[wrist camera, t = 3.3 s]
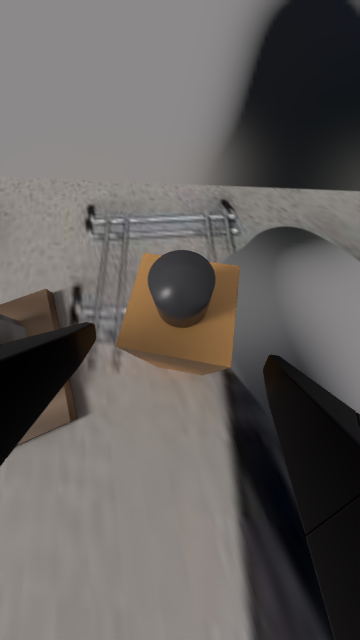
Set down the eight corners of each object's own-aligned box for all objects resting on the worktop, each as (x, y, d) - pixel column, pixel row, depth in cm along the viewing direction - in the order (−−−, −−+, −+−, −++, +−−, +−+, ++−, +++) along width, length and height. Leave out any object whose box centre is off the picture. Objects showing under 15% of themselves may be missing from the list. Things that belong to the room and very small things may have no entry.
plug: (202, 375, 17) (249, 362, 5) (156, 366, 17) (90, 333, 5) (208, 330, 19) (257, 231, 6) (166, 323, 19) (132, 216, 7)
